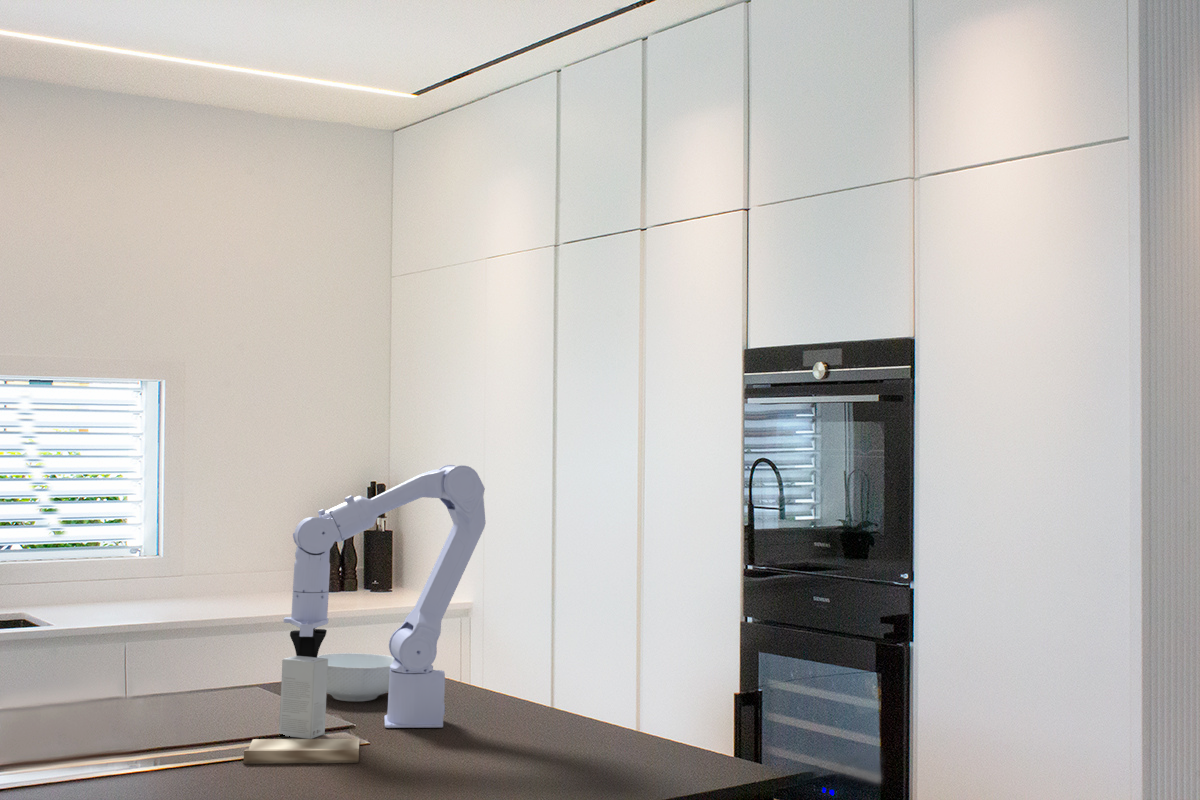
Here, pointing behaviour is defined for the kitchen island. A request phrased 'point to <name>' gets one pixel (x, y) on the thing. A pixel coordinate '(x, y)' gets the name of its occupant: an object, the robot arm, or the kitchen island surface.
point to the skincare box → (303, 697)
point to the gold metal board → (302, 751)
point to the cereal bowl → (357, 675)
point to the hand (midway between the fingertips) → (306, 675)
